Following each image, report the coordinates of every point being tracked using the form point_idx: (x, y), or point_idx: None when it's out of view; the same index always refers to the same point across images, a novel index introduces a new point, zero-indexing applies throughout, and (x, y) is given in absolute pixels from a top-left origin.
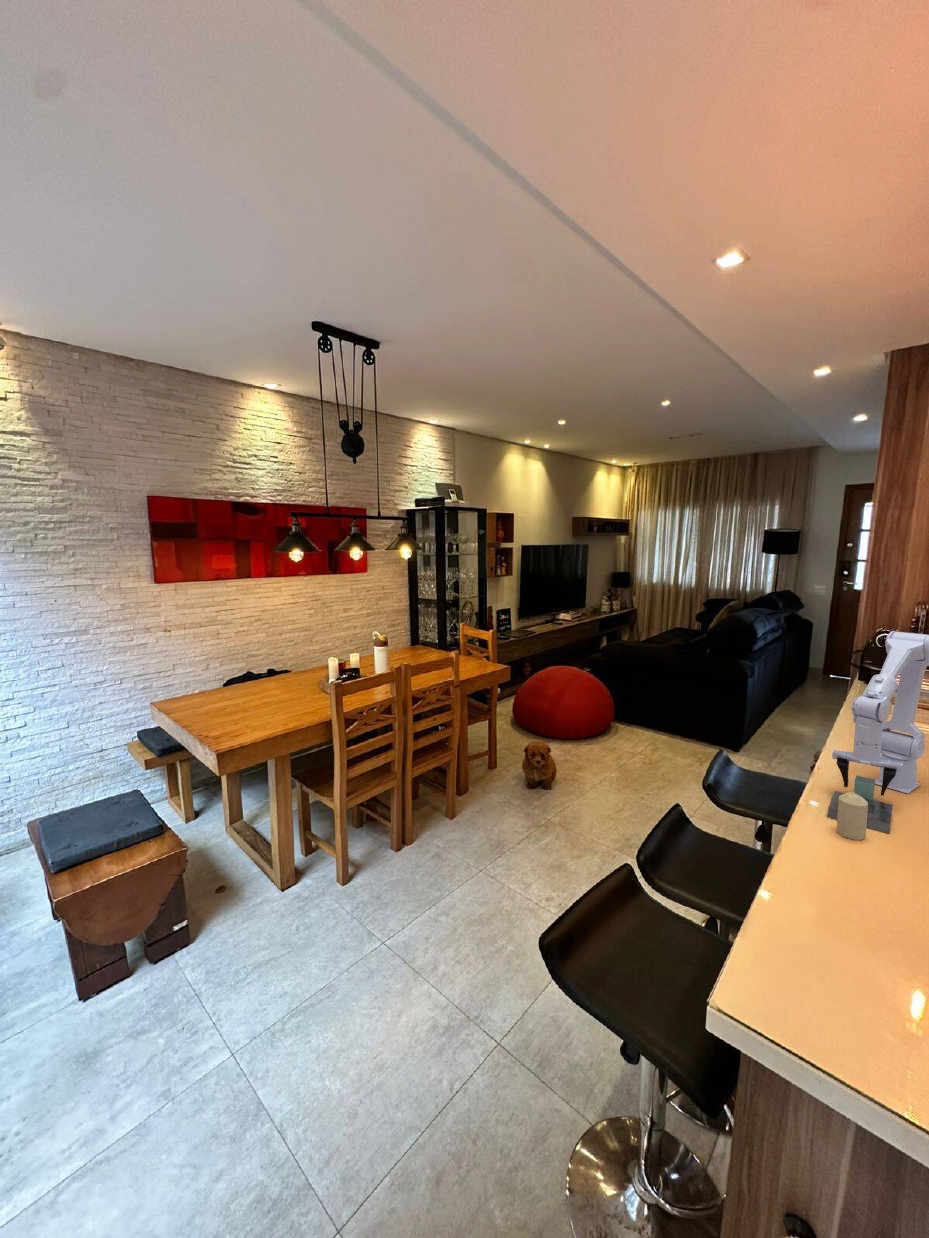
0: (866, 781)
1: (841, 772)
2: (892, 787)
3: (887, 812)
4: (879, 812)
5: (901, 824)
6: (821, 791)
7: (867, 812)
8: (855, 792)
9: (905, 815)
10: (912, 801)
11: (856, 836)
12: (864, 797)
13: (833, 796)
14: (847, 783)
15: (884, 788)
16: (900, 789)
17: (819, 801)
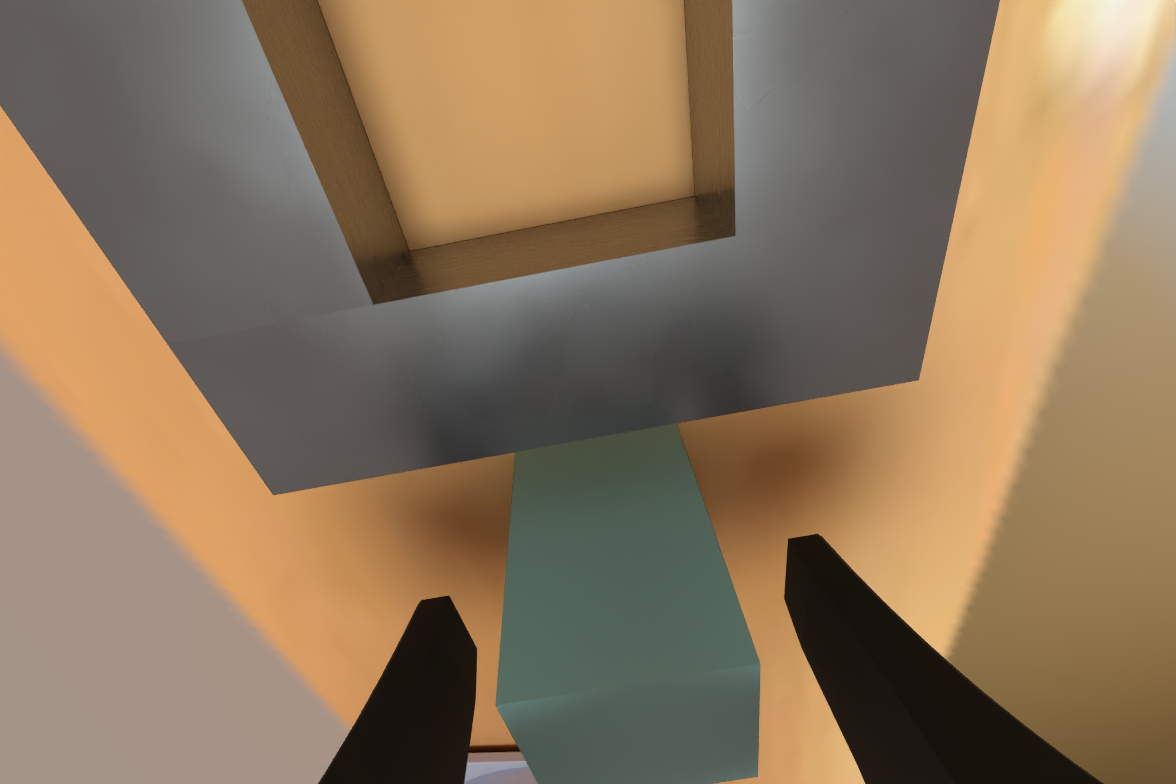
0: (612, 724)
1: (1029, 737)
2: (520, 765)
3: (107, 164)
4: (158, 25)
5: None
6: (961, 422)
7: (480, 239)
8: (687, 503)
9: (239, 474)
10: (365, 697)
11: None
12: (588, 492)
13: (954, 143)
14: (812, 587)
15: (381, 703)
16: (476, 769)
17: (1025, 114)
